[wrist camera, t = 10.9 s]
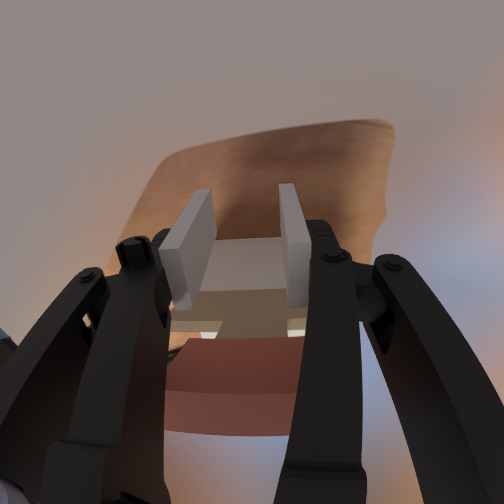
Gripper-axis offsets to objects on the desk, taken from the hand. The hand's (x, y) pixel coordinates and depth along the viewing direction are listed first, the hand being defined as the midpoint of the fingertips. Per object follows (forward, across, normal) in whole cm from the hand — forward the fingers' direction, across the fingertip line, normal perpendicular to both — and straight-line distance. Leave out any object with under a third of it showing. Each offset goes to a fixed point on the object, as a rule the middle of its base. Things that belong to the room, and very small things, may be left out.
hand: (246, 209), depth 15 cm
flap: (-2, 0, -8) cm, 8 cm away
